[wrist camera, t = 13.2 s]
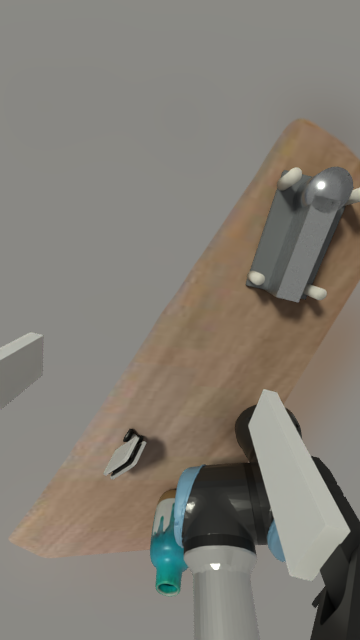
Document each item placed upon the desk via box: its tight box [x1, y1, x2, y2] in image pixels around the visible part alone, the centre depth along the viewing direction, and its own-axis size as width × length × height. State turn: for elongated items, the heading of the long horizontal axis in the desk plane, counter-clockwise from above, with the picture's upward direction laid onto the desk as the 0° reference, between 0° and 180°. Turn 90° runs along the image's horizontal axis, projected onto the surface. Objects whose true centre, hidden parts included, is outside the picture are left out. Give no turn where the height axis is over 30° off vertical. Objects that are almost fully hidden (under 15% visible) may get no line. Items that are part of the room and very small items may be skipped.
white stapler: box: [103, 429, 146, 479], centre depth 55 cm, size 4×10×15 cm
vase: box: [150, 489, 188, 596], centre depth 57 cm, size 11×11×19 cm
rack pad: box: [246, 168, 360, 300], centre depth 39 cm, size 20×13×6 cm, turn 167°
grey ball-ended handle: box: [266, 167, 353, 303], centre depth 38 cm, size 20×6×6 cm, turn 167°
